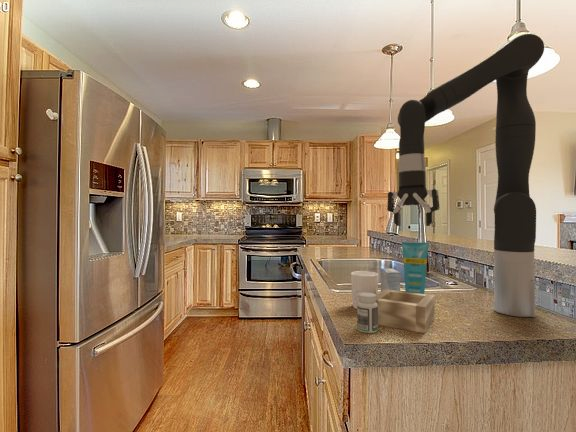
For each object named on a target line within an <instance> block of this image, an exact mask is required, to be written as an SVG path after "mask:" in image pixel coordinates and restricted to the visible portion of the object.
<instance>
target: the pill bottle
mask: <svg viewBox="0 0 576 432" xmlns="http://www.w3.org/2000/svg"><path fill="white" fill-rule="evenodd" d="M375 301H376V295H375V294H373V293H360V294H359V302H358V303H357V309H356V311H357V320H356V321H357V322H356V323H357V330H358V331H359V332H360V333H364V334H375V333H377V332H378V331H379V325H378V305H377V303H376V302H375Z"/></svg>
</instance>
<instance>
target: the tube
mask: <svg viewBox="0 0 576 432" xmlns="http://www.w3.org/2000/svg"><path fill="white" fill-rule="evenodd" d="M429 248H430V242H424V241H421V242H411V241H410V242H408V241H406V242H405V241H401V249H402V257H403V269H404V270H403V271H404V272H403V273H404V292H411V293H419V294H425V291H426V288H425V287H426V278H427V277H426V274H427V262H428V255H429V254H428V253H429Z"/></svg>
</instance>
